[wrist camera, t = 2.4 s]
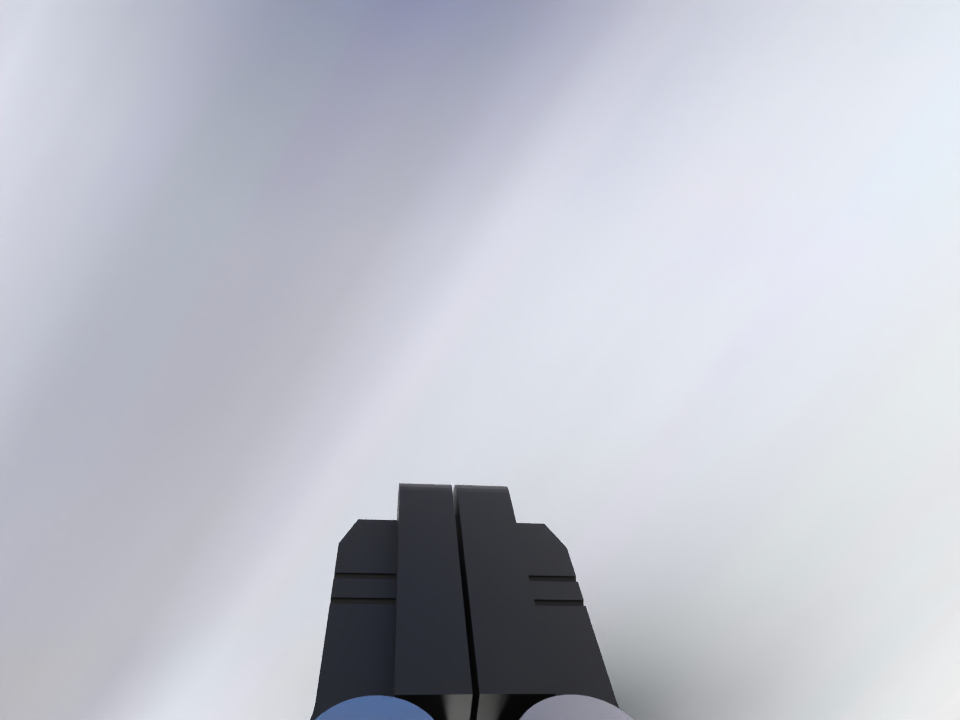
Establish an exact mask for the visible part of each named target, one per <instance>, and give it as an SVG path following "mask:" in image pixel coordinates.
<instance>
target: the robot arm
mask: <svg viewBox="0 0 960 720" xmlns="http://www.w3.org/2000/svg"><path fill="white" fill-rule="evenodd" d="M310 720H634V719H633V718H632V717H630V716H629V715H628V714H626V713H625V712H624V711H622V710H621V709H619V707H618V704H617V702H616V699H615V696H614V693H613V690H612V687H611V683H610V680H609V677H608V674H607V671H606V668H605V665H604V662H603V659H602V656H601V653H600V649H599V646H598V643H597V640H596V637H595V634H594V631H593V628H592V625H591V622H590V618H589V615H588V612H587V609H586V606H584V605H583V597H582V594H581V591H580V588H579V584H578V582H576V575H575V572H574V569H573V566H572V563H571V560H570V557H569V553H568V550H567V548H566V547H565V546H564V545H563V543H562V542H561V541H560V540H559V539H558V538H557V537H556V536H555V535H554V534H553V533H552V532H551V531H550V530H549V528H548V527H547V526H546V525H545V524H531V523H516V520H515V516H514V511H513V507H512V503H511V498H510V494H509V490H508V488H507V487H505V486H473V485H455V486H454V491H453V492H452V486H451V485H435V484H403V483H399V493H398V509H397V520H362V519H358V520H357V522H356V523H355V524H354V525H353V527H352V528H351V529H350V530H349V532H348V533H347V534H346V535H345V537H344V538H343V539H342V540H341V541H340V543H339V546H338V553H337V560H336V567H335V575H334V580H333V587H332V594H331V604H330V607H329V614H328V621H327V628H326V635H325V642H324V648H323V655H322V662H321V669H320V676H319V682H318V689H317V696H316V703H315V707H314V711H313V715H312V717H311V719H310Z"/></svg>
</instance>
